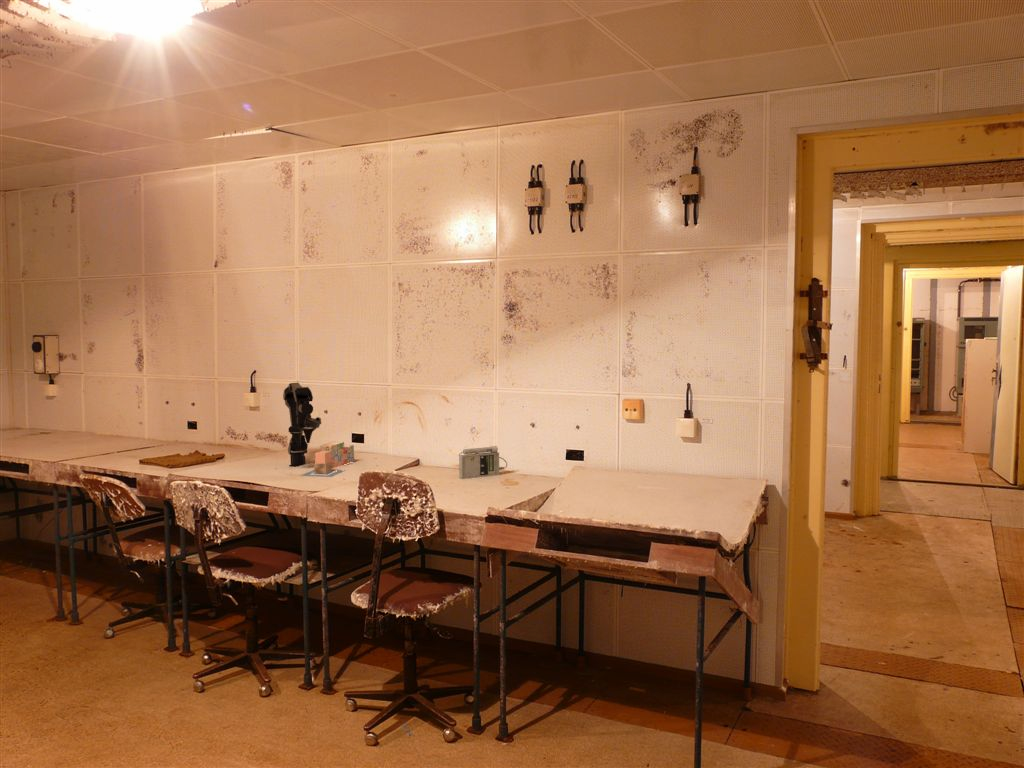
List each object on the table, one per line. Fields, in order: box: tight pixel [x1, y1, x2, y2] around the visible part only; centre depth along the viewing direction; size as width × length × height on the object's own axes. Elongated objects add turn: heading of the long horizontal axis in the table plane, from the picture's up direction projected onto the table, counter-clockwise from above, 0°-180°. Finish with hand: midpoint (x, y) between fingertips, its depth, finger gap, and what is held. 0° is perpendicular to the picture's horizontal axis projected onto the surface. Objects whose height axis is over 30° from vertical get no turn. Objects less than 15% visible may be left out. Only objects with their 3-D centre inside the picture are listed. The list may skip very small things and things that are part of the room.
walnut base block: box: [313, 462, 333, 474], centre depth 379 cm, size 6×6×5 cm
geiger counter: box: [458, 445, 508, 480], centre depth 373 cm, size 14×6×25 cm
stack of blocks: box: [319, 441, 355, 469], centre depth 400 cm, size 21×6×12 cm, turn 159°
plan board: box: [299, 469, 347, 478], centre depth 379 cm, size 16×16×1 cm
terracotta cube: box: [314, 450, 330, 464], centre depth 378 cm, size 5×5×5 cm
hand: (303, 444), depth 387 cm, fingers open, 9 cm apart
